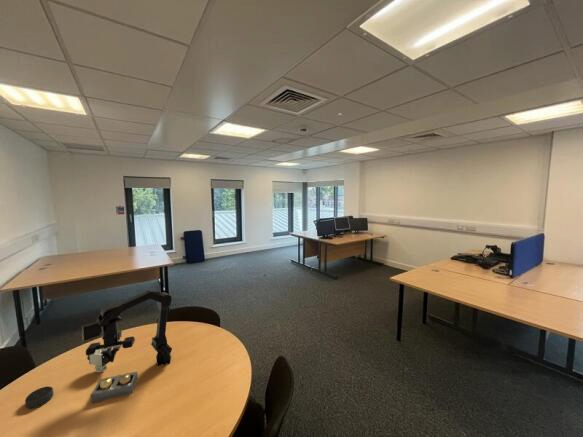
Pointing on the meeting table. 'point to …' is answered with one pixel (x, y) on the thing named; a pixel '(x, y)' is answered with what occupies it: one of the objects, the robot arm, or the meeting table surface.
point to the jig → (114, 389)
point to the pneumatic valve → (98, 361)
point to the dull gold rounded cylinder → (125, 379)
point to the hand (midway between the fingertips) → (112, 361)
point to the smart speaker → (39, 397)
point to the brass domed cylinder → (106, 383)
